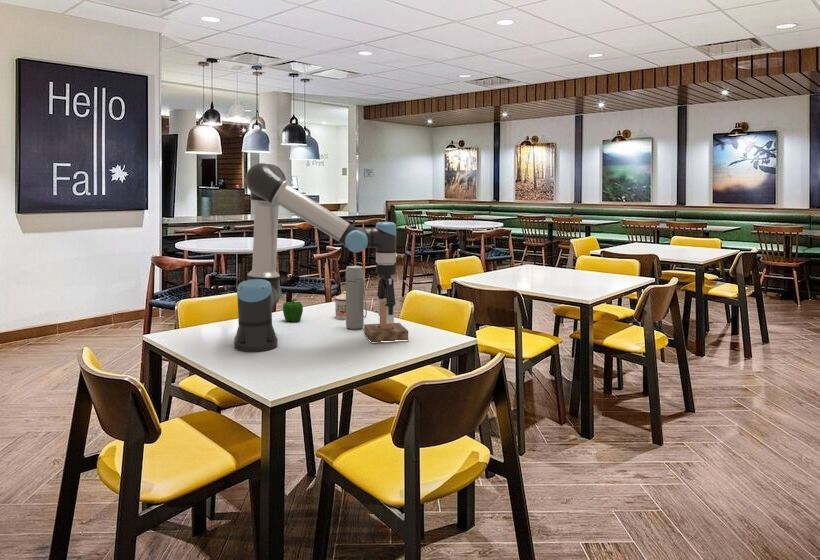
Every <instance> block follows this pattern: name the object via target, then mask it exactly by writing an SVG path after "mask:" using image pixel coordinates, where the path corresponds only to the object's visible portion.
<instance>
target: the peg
mask: <svg viewBox="0 0 820 560" xmlns="http://www.w3.org/2000/svg"><path fill="white" fill-rule="evenodd" d="M386 304H387V301H380V316H379V324H380V330H384V329H392V323H388V324H387V323H386V306H385V305H386Z"/></svg>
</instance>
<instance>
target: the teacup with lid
mask: <svg viewBox="0 0 820 560" xmlns="http://www.w3.org/2000/svg"><path fill="white" fill-rule="evenodd" d="M334 301H335V302H334V304H335V307H334V309H335V310H334V311H335V312H334V313H335V319H337V320H341V319H346V290H343V292H342V293H341V294H339V295H336V296H335V297H334Z"/></svg>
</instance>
